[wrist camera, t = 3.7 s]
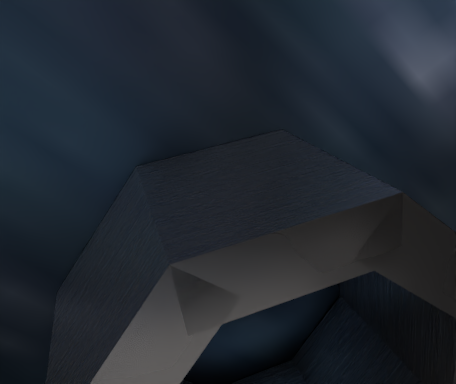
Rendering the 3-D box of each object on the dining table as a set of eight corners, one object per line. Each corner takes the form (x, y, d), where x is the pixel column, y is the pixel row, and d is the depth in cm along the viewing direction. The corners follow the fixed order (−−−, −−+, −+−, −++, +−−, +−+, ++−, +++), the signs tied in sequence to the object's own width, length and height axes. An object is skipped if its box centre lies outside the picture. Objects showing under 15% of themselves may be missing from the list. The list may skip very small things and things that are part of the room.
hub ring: (371, 106, 8) (535, 150, 5) (375, 355, 11) (483, 477, 8) (17, 196, 7) (-41, 331, 4) (125, 456, 10) (141, 652, 7)
